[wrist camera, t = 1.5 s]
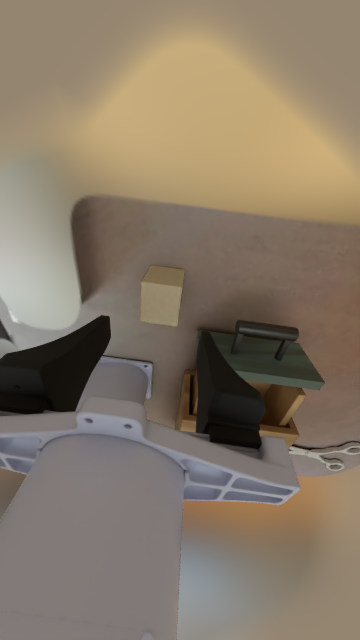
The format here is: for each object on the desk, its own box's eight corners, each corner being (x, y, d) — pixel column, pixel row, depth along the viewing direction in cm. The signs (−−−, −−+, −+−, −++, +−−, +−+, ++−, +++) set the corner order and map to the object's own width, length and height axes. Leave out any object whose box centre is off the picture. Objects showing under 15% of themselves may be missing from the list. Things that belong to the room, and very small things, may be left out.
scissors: (347, 472, 43) (252, 460, 42) (345, 468, 43) (251, 456, 43) (379, 447, 37) (270, 433, 37) (376, 442, 38) (269, 429, 37)
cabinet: (185, 369, 31) (182, 419, 24) (277, 381, 31) (299, 435, 24) (175, 423, 39) (170, 473, 32) (248, 433, 39) (259, 484, 32)
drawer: (204, 300, 24) (206, 332, 18) (314, 315, 24) (348, 351, 18) (184, 397, 33) (182, 436, 28) (263, 407, 33) (275, 449, 28)
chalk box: (149, 299, 25) (140, 322, 21) (151, 264, 23) (140, 281, 18) (180, 304, 25) (177, 327, 21) (185, 269, 23) (182, 287, 18)
